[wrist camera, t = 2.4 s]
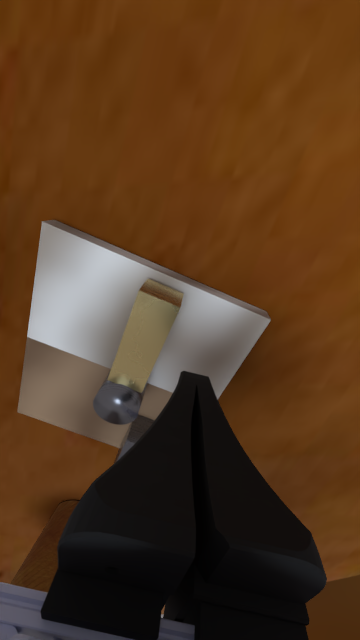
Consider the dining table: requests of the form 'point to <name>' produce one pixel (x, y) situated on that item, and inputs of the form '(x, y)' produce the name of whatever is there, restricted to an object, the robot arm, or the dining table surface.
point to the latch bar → (137, 353)
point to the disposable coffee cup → (45, 552)
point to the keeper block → (134, 434)
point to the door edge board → (118, 331)
